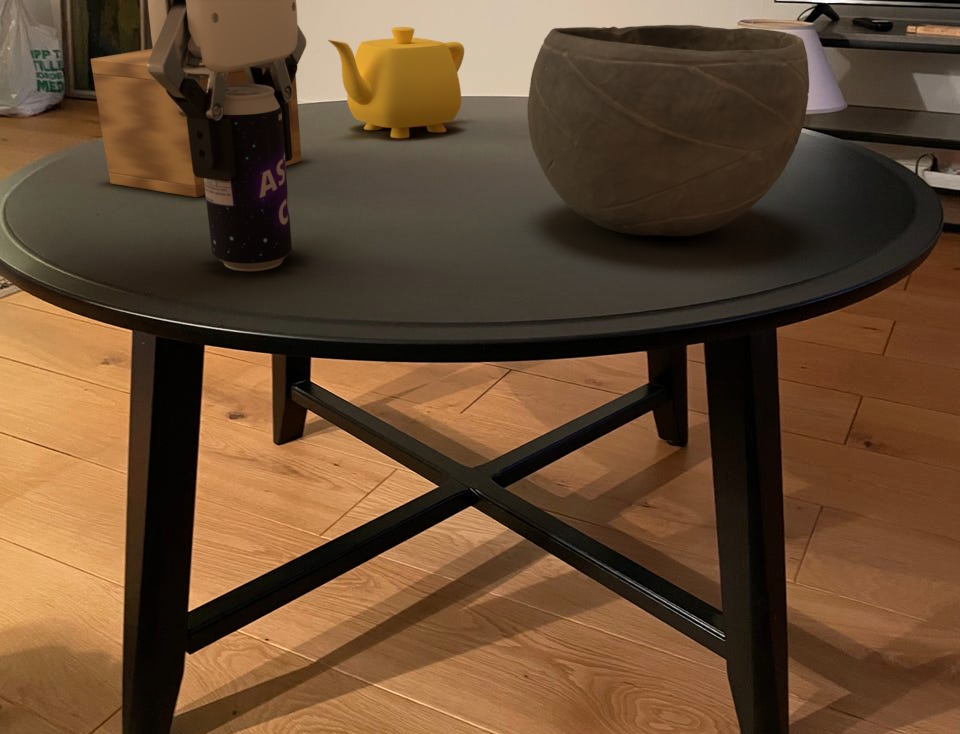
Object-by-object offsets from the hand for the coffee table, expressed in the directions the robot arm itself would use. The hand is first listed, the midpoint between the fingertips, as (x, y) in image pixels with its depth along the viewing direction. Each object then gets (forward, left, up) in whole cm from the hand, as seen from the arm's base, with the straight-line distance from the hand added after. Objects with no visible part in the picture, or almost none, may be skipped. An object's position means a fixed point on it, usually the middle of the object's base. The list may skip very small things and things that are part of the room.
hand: (244, 166), depth 71 cm
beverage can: (0, 0, -7) cm, 7 cm away
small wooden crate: (-20, +20, -7) cm, 29 cm away
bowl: (+23, +23, -7) cm, 33 cm away
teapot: (-14, +46, -7) cm, 49 cm away
